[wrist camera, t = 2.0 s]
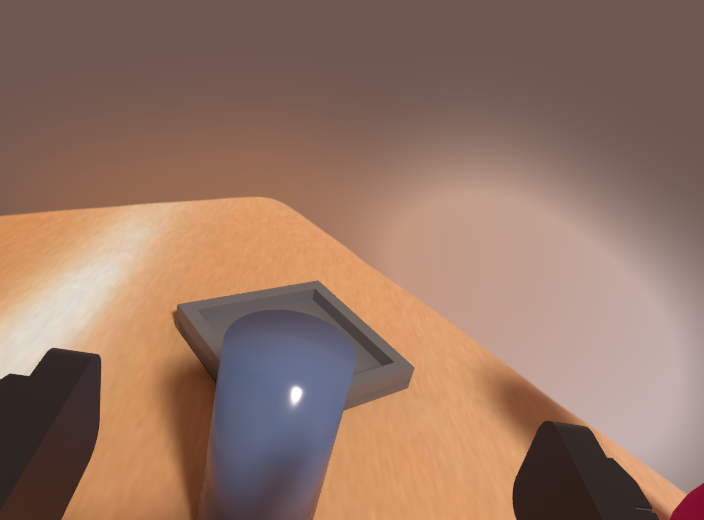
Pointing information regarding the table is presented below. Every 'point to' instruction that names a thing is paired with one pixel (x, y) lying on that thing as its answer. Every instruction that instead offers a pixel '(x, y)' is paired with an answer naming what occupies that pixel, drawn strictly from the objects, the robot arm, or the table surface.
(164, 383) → the table surface
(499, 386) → the table surface
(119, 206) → the table surface
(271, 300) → the tray
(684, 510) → the pepper mill
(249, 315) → the blue-grey cylinder
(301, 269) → the table surface
